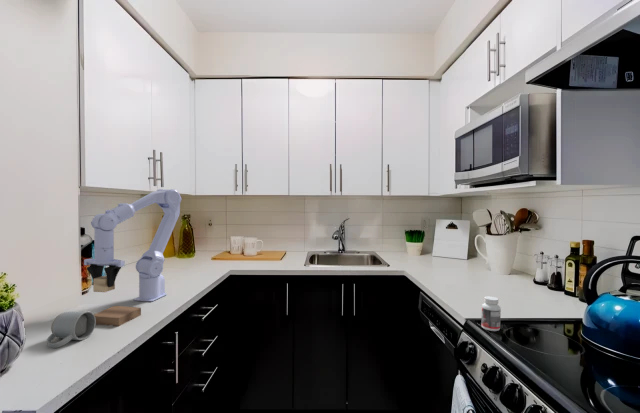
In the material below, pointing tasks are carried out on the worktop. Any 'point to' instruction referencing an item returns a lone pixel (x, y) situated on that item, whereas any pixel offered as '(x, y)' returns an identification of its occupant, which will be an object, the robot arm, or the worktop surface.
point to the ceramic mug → (71, 327)
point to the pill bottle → (491, 314)
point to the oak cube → (101, 284)
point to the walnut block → (117, 315)
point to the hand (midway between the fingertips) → (104, 286)
